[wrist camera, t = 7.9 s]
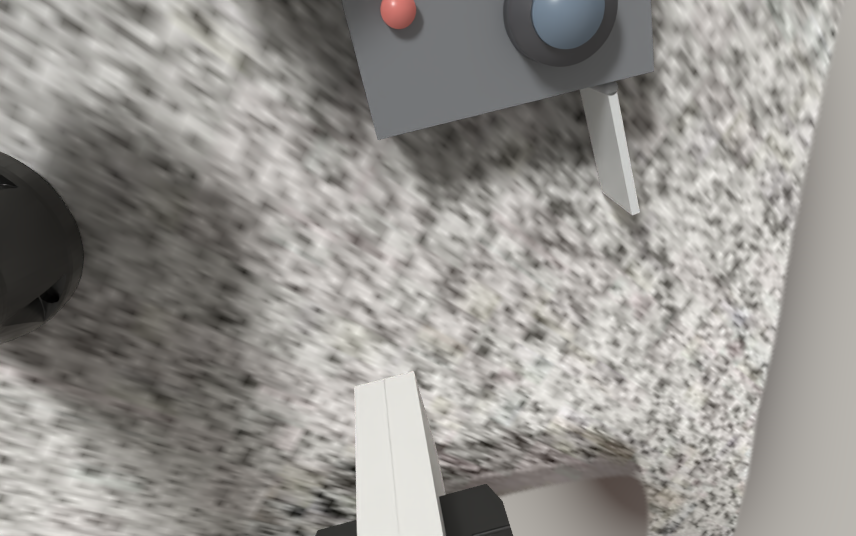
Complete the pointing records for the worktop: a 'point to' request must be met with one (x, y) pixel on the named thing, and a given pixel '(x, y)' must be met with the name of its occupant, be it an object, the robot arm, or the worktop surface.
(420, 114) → the camera body
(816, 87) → the worktop surface
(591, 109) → the side door
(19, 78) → the worktop surface
